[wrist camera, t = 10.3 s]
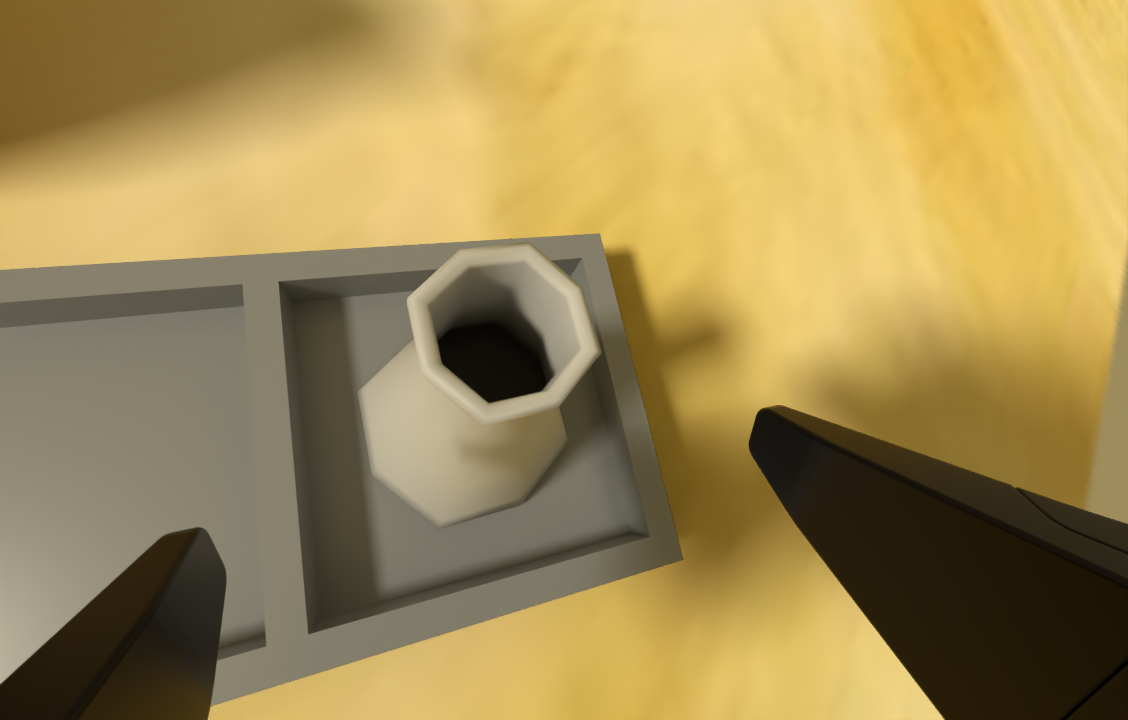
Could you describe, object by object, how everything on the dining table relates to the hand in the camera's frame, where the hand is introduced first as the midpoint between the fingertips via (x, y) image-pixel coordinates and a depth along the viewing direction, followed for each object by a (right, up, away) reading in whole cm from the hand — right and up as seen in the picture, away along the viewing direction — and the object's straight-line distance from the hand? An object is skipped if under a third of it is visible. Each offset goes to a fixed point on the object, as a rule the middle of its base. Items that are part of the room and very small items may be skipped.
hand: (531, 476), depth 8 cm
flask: (-3, 0, +10) cm, 10 cm away
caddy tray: (-9, -1, +8) cm, 12 cm away
